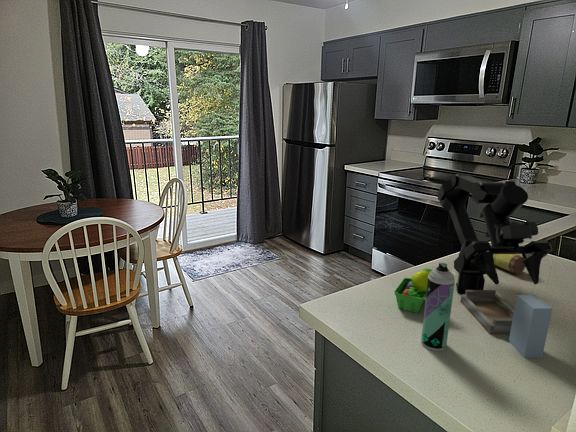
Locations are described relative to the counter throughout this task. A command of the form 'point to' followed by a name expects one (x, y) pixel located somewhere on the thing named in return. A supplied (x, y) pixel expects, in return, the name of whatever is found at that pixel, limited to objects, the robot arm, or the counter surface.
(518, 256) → the sauce bottle
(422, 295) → the fruit basket
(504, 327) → the shallow grey tray
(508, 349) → the counter surface
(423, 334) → the spray can
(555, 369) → the counter surface
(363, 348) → the counter surface
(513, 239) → the robot arm
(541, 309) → the blue-grey rectangular block
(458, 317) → the counter surface
